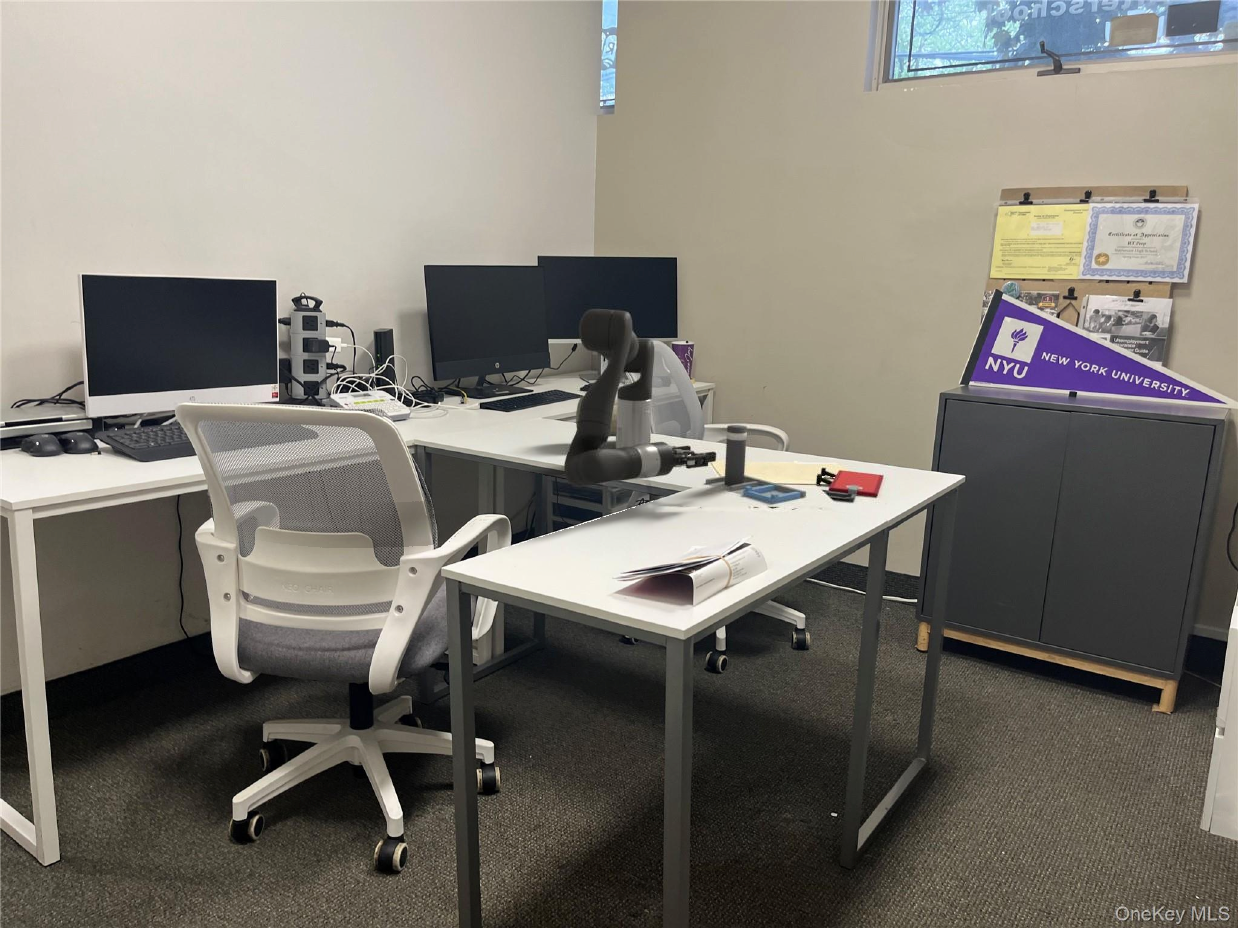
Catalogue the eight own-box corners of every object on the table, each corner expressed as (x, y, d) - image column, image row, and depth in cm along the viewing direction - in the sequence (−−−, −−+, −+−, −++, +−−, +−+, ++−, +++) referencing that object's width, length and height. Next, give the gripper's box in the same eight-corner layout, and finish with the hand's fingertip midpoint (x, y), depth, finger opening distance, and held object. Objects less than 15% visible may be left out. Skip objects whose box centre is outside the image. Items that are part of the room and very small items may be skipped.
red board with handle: (808, 498, 208) (874, 506, 203) (809, 486, 207) (875, 494, 202) (824, 473, 235) (882, 480, 230) (825, 463, 235) (884, 469, 230)
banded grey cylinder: (726, 486, 211) (728, 428, 208) (722, 481, 216) (725, 424, 213) (745, 486, 211) (748, 428, 208) (741, 481, 216) (745, 425, 213)
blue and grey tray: (704, 488, 214) (704, 476, 213) (736, 482, 220) (737, 470, 220) (772, 508, 197) (773, 495, 196) (805, 501, 204) (806, 488, 203)
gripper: (670, 448, 189) (724, 442, 198) (628, 438, 200) (682, 432, 209) (668, 483, 190) (723, 474, 200) (627, 471, 201) (680, 463, 211)
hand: (702, 453), depth 205 cm, fingers open, 8 cm apart
